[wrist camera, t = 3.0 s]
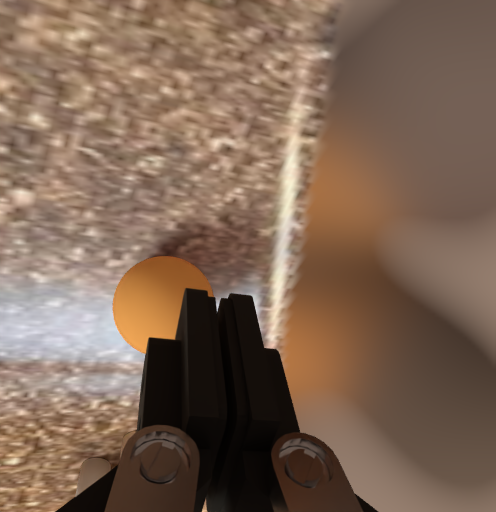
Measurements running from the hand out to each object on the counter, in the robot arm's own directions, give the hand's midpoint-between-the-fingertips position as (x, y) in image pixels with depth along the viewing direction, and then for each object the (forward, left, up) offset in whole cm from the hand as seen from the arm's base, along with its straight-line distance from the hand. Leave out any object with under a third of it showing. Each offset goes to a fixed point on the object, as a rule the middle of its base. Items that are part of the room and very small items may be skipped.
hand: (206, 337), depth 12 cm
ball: (+9, 0, -14) cm, 17 cm away
